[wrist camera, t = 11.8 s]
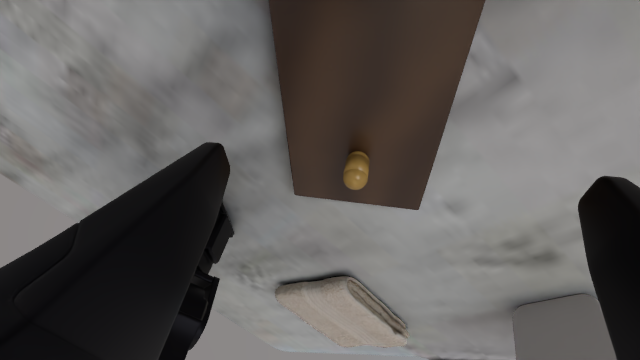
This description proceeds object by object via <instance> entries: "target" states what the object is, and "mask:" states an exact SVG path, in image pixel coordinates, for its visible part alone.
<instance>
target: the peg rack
mask: <svg viewBox="0 0 640 360" xmlns="http://www.w3.org/2000/svg"><path fill="white" fill-rule="evenodd" d="M484 3H485V0H269V6H270V14H271V21H272V29H273V36H274V44H275V51H276V59H277V66H278V74H279V81H280V89H281V96H282V104H283V111H284V119H285V126H286V134H287V141H288V149H289V156H290V164H291V171H292V179H293V186H294V194H295V195H299V196H307V197H315V198H323V199H331V200H340V201H348V202H356V203H364V204H372V205H381V206H389V207H397V208H405V209H413V210H419V207H420V204H421V201H422V198H423V195H424V191H425V188H426V185H427V182H428V179H429V176H430V173H431V169H432V166H433V163H434V160H435V157H436V154H437V151H438V147H439V144H440V141H441V138H442V135H443V132H444V129H445V125H446V122H447V119H448V116H449V113H450V110H451V107H452V103H453V100H454V97H455V94H456V91H457V88H458V84H459V81H460V78H461V75H462V72H463V69H464V66H465V62H466V59H467V56H468V53H469V50H470V47H471V44H472V40H473V37H474V34H475V31H476V28H477V25H478V22H479V18H480V15H481V12H482V9H483V6H484Z"/></svg>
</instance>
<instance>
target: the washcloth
mask: <svg viewBox="0 0 640 360" xmlns="http://www.w3.org/2000/svg"><path fill="white" fill-rule="evenodd" d="M275 297H276V298H277V301H278V302H279V303H281V304H282V305H283V306H284V307H285V308H286V309H288V310H290V311H291V312H293V313H295V314H296V315H297V316H298V317H300V319H302V320H303V321H305V322H306V323H307V324H309V325H311V326H312V327H313V328H314V329H316V330H317V331H319V332H321V333H323V334H324V335H325V336H327V337H328V338H329V339H331V340H332V341H334V343H337V345H339V346H342V347H355V346H363V345H370V346H376V347H383V348H387V347H395V346H396V347H397V346H405V345H406V343H407V341H406V338H409V333H408V332H407V330H405V328H406V326H405V324H404V323H403V321H401V320H400V319H399V318H398V317H396V316H394V314H393V313H392V312H391V311H390V310H389V309H388V308H387V307H386V306H385V305H384V304H383V303H382V302H381V301H380V300H378V299H377V298H376V297H375V296H374V295H373V294H372V293H371V292H370V291H368V290H367V289H366V288H365V287H364V286H363V285H362V284H361V283H360V282H359V281H357V280H356V279H354V278H352V277H347V276H340V277H332V278H328V279H324V280H322V281H313V282H304V281H303V282H299V283H294V284H288V285H283V286H280V287H278V288H277V289H276V291H275Z"/></svg>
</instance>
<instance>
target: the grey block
mask: <svg viewBox="0 0 640 360" xmlns="http://www.w3.org/2000/svg"><path fill="white" fill-rule="evenodd" d="M512 319H513V330H514V340H515V351H516V360H617V358H616V355H615V352H614V349H613V346H612V342H611V339H610V336H609V333H608V329H607V326H606V323H605V320H604V317H603V313H602V310H601V307H600V304H599V301H598V300H597V299H596V298H594V297H593V296H590V295H587V294H578V295H573V296H567V297H562V298H557V299H552V300H547V301H541V302H536V303H531V304H526V305H522V306H520V307H518V308H517V309H516V310H515V311H514V313H513V317H512Z"/></svg>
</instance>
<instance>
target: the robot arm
mask: <svg viewBox="0 0 640 360" xmlns="http://www.w3.org/2000/svg"><path fill="white" fill-rule="evenodd" d="M229 175H230V165H229V162H228V159H227V156H226V153H225V150H224V147H223V146H222V144H220V143H212V142H206V143H204V144H202V145H201V146H199V147H197V148H196V149H194V150H193V151H191V152H189V153H188V154H186V155H185V156H183V157H181V158H180V159H178V160H177V161H175V162H174V163H172V164H170V165H169V166H167V167H166V168H164V169H162V170H161V171H159V172H158V173H156V174H154V175H153V176H151V177H150V178H148V179H146V180H145V181H143V182H142V183H140V184H138V185H137V186H135V187H134V188H132V189H130V190H129V191H127V192H126V193H124V194H122V195H121V196H119V197H118V198H116V199H114V200H113V201H111V202H110V203H108V204H106V205H105V206H103V207H102V208H100V209H98V210H97V211H95V212H94V213H92V214H90V215H89V216H87V217H86V218H84V219H82V220H81V221H80V223H76V224H74V225H73V226H71V227H70V228H68V229H66V230H65V231H63V232H62V233H60V234H59V235H57V236H55V237H54V238H52V239H50V240H49V241H47V242H45V243H44V244H42V245H40V246H39V247H37V248H35V249H34V250H32V251H30V252H28V253H26V254H25V255H23V256H21V257H19V258H18V259H16V260H14V261H12V262H11V263H9V264H7V265H5V266H3V267H2V268H0V360H185V358H186V355H187V352H188V350H190V349H192V348H193V347H194V345H195V344H196V343H197V341H198V339H199V338H200V336H201V334H202V333H203V331H204V329H205V326H206V324H207V321H208V318H209V315H210V311H211V308H212V304H213V301H214V297H215V294H216V290H217V287H218V283H219V280H220V279H219V278H217V277H215V276H214V277H212V276H210V275H208V273H209V271H210V269H211V267H212V265H213V263H214V264H216V263H218V262H219V260H220V258H221V255H222V253H223V251H224V248H225V246H226V244H227V242H228V239H229V237H233V235H234V231H233V228H232V226H231V223H230V221H229V218H228V216H227V213H226V211H225V208H224V206H223V203H222V199H223V196H224V192H225V189H226V185H227V182H228V178H229ZM578 212H579V218H580V223H581V229H582V235H583V240H584V246H585V252H586V257H587V262H588V267H589V271H590V274H591V278H592V281H593V284H594V288H595V291H596V294H597V297H598V301H599V304H600V307H601V310H602V313H603V317H604V320H605V323H606V326H607V329H608V333H609V336H610V339H611V342H612V346H613V349H614V352H615V355H616V358H617V360H640V188H639V187H638V186H636V185H635V184H633V183H632V182H630V181H629V180H627V179H625V178H621V177H610V176H603V177H600V178H598V179H597V180H596V181H595V182H594V183H593V185H592V186H591V187H590V188H589V189H588V190H587V192H586V193H585V194H584V195H583V196H582V198H581V199H580V201H579V204H578Z"/></svg>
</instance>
